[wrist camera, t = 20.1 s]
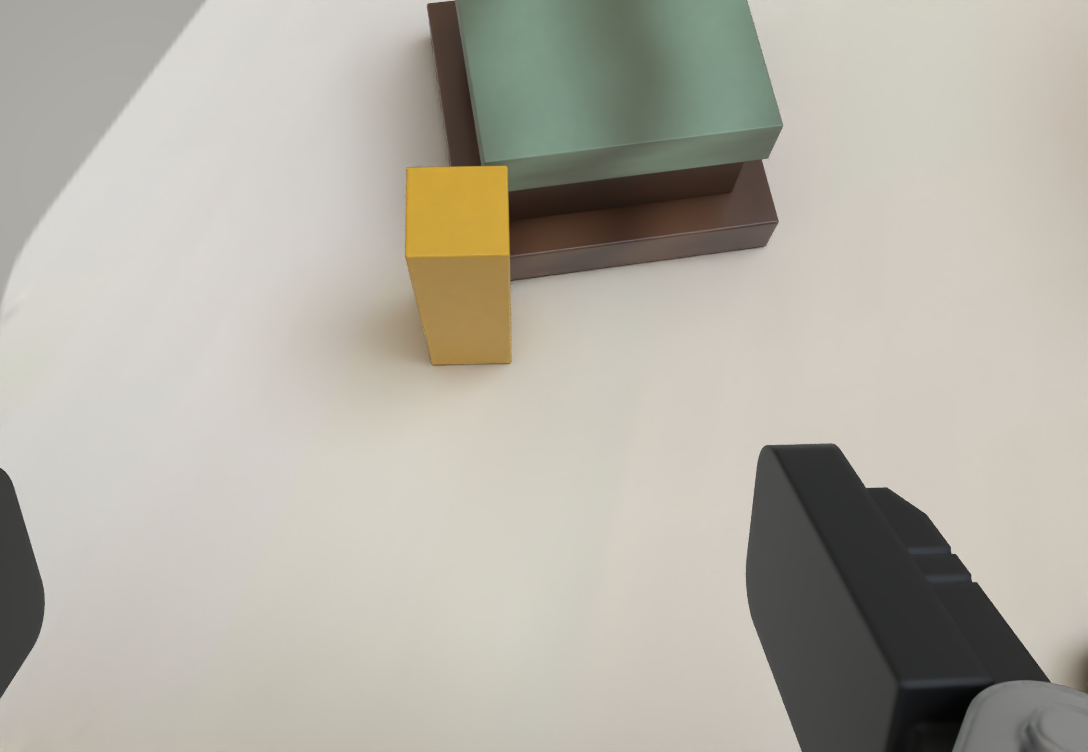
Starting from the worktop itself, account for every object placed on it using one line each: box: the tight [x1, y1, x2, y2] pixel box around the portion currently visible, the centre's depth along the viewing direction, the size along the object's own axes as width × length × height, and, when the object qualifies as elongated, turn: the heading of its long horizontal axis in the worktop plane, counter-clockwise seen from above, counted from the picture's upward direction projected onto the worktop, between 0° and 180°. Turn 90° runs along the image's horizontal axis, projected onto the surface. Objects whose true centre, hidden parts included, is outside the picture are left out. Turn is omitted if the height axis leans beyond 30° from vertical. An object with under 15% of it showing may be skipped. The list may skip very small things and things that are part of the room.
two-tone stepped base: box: [427, 0, 783, 280], centre depth 35 cm, size 12×12×7 cm
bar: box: [405, 166, 511, 365], centre depth 31 cm, size 3×3×9 cm
